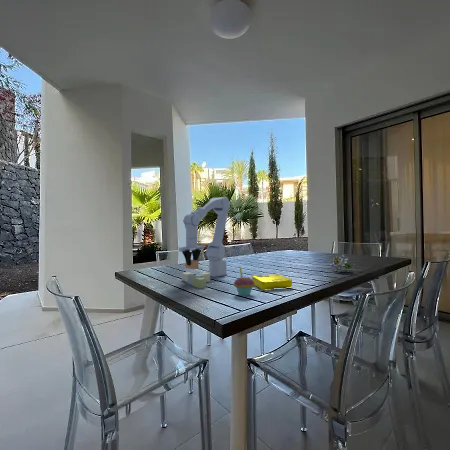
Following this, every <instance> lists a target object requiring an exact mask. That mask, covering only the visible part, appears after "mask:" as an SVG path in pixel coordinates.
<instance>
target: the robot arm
mask: <svg viewBox="0 0 450 450" xmlns="http://www.w3.org/2000/svg"><path fill="white" fill-rule="evenodd" d="M230 204H231V203H230V200H229V198H228V197H227V196H223V197H222V196H221V197H220V196H219V197H212V198H210V199H209V201H207V203H205V205H204V206H203V207H202V206H197V207H196V209H195V210H194V211H191V213H189V214H185V216H184V218H183V224H184V229H185V246H181V247H180V246H179V247H178V252H180V253H182V254H183V257H184V259H185V264H186V263H187V265H191V260H198V261H199V258H200V255H201V254H202V250H204V249H205V246H204V245H198V226H199V225H200V223H201V220H203V219H204V218H205V217H206V216H207V215H208V213H209V211H211V210H213V212H214V213H215V214H217V217H216V218H217V219H216V223H215V227H214V231H213V232H214V233H213V237H212V241H210V243H208V245H207V248H206V250H205V256H206V258H207V260H208V272H210V277H213V278H215V277H216V278H217V277H222V276H228V274H227V272H228V271H227V261H226V260H225V259H224V258H225V256H226V251H225V250H226V246H225V245H224V244H223V239H224V234H225V229H226V224H227V221H228V220H227V218H228V214H229V209H230Z"/></svg>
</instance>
